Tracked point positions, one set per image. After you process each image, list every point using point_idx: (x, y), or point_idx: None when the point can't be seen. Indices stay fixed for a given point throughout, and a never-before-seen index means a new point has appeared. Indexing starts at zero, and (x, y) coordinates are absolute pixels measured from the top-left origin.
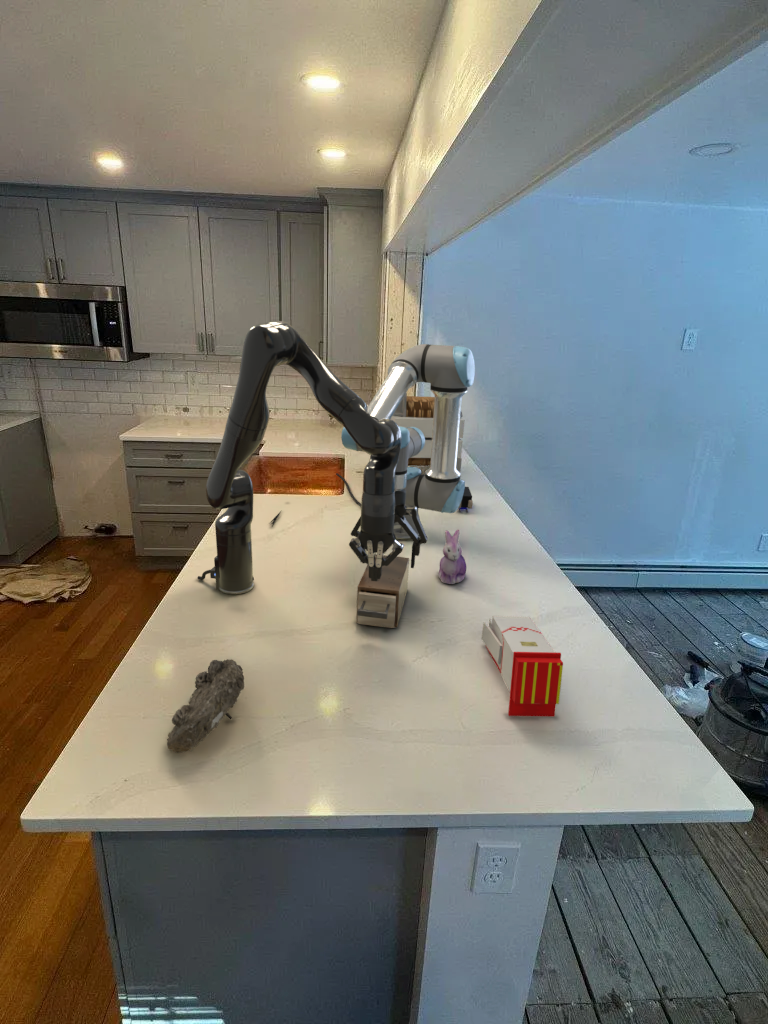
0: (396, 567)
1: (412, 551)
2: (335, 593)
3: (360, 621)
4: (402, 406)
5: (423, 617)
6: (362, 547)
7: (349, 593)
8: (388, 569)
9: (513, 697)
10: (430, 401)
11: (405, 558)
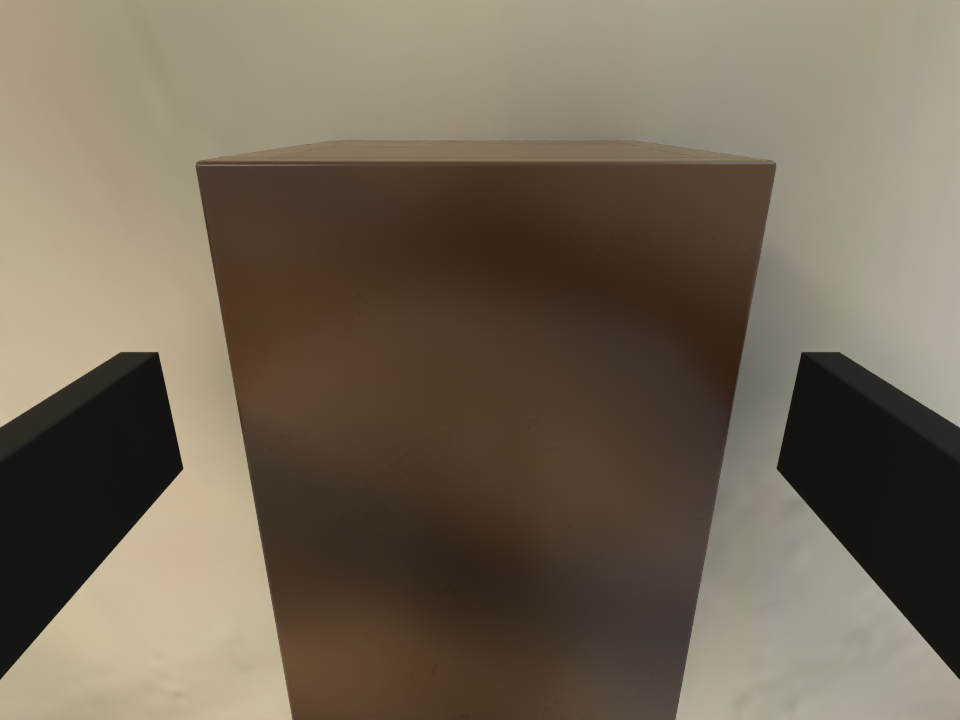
0: (602, 492)
1: (945, 648)
2: (113, 314)
3: None
4: None
5: (745, 475)
6: (23, 625)
7: (207, 290)
8: (516, 556)
9: None
10: None
11: (717, 201)
